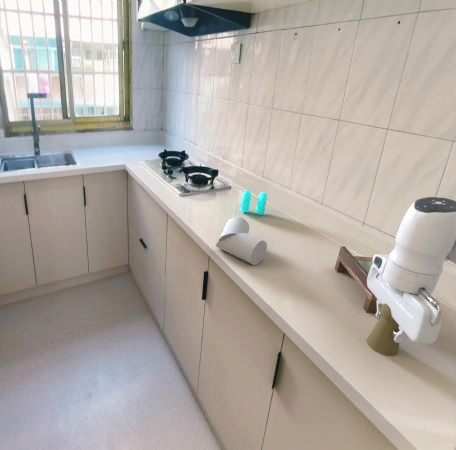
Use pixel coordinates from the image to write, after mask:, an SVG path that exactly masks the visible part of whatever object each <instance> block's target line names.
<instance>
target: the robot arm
mask: <svg viewBox="0 0 456 450" xmlns="http://www.w3.org/2000/svg"><path fill="white" fill-rule="evenodd" d="M394 240H395V245H394V247H393V249H392V250H391V251H390V253H389V254H385V253H384V254H383V253H382V254H380V253H379V254H378V253H375V254H374V255H373V256H372V258H373V260H372V262H373V263H374V264H372V266H371V268H370V271H369V274H368V278H367V287H368V288H369V289H370V291H371V292H372V293H373V294H374V295H375V297H376V298H377V301H376V302H377V313H375V317H376V319H377V321H378V320H379V318H380V317H381V307H382V305H383V304H387V305H388V306H389V307H390V309H391V314H392V317H393V318H394V320H395V321H396V322H397V323H398V325H399V330H400V331H399V332H397V331H393V335H392V338H393V340H394V341H395V342H396V343H399V344H403V343H405V340H406V339H407V338H409V340H411V342H412V343H414V344H415V343H416V344H422V345H432V344H435V343H436V342H437V340H438V337H439V334H440V331H441V329H442V324H443V319H444V315H443V314H444V313H443V311H442V309H441V306H440V305H441V304H440V302H439V301H438V300H437V298H435V297H434V296H432V294H433V293H434V291H435V290H436V286H437V284H438V282H439V280H440V277H441V275H442V273H443V270H444V263H445V261H449V262H451V263H453V264H455V265H456V200H454V199H451V198H448V197H438V196H428V197H427V196H426V197H421V198H418V199H416V200H414V201H413V202H412V203H411V205H410V206H409V207H408V209H407V210H406V211H405V214H404V215H403V218H402V220H401V222H400V225H399V226H398V230H397V232H396V234H395V239H394Z"/></svg>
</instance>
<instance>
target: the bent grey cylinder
mask: <svg viewBox="0 0 456 450" xmlns="http://www.w3.org/2000/svg"><path fill="white" fill-rule="evenodd" d="M249 232H250V224H249V222H248V221H247V220H246V218H243V217H241V216H234V217H231V218H229V219H228V220H227V222H226V224H225V226H224V228H223V229H222V232H221V234H220V236H219V239H218V241H217V242H216V244H215V247H216V248H217V249H219V250H222V251H224V252H226V253H228V254H230V255H232V256H234V257H236V258H238V259H240V260H242V261H243V262H246V263H248V264H250V265H252V266H257V265H259V264H260V263H261V262H262V261H263V259H264V258H265V256H266V253H267V249H268V243H267V241H266V240H264V239H261V238H259V237H257V236H255V235H253V234H250V233H249Z"/></svg>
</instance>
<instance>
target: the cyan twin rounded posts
mask: <svg viewBox="0 0 456 450" xmlns="http://www.w3.org/2000/svg"><path fill="white" fill-rule="evenodd" d="M267 200H268V194H267V192H265V191H262V192H260V193H259V194H258V197H257V201H256V207H255V212H256V214H257V215H258V216H263V215H264V214H265V212H266V206H267ZM251 201H252V193H251V191H250V190H249V189H245V190H244V191H243V193H242V197H241V203H240V211H242V212H241V213H243V212H246V213H248V212H249V210H250V207H251Z"/></svg>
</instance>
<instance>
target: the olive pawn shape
mask: <svg viewBox="0 0 456 450" xmlns="http://www.w3.org/2000/svg"><path fill="white" fill-rule="evenodd" d="M393 331H397V332H399V331H400V330H399V325H398V323H397V322H396V321H395V320H394V318H393V317H392V314H391V309H390V307H389V306H388V305H387V304H383V305H382V307H381V317H380V318H379V320H378V319H377V322H376V323H375V325H374V326H373V328H372V330H371V332H370V334H369V335H368V336H367V338H366V344H367V345H368V346H369V348H371V349H372V350H373V351H375V352H377V353H379V354H381V355H383V356H387V357H388V356H389V357H390V356H391V357H392V356H396V355H397V354H398V352H399V349H400V343H396V342H395V341H394V340H393V338H392V335H393Z"/></svg>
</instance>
